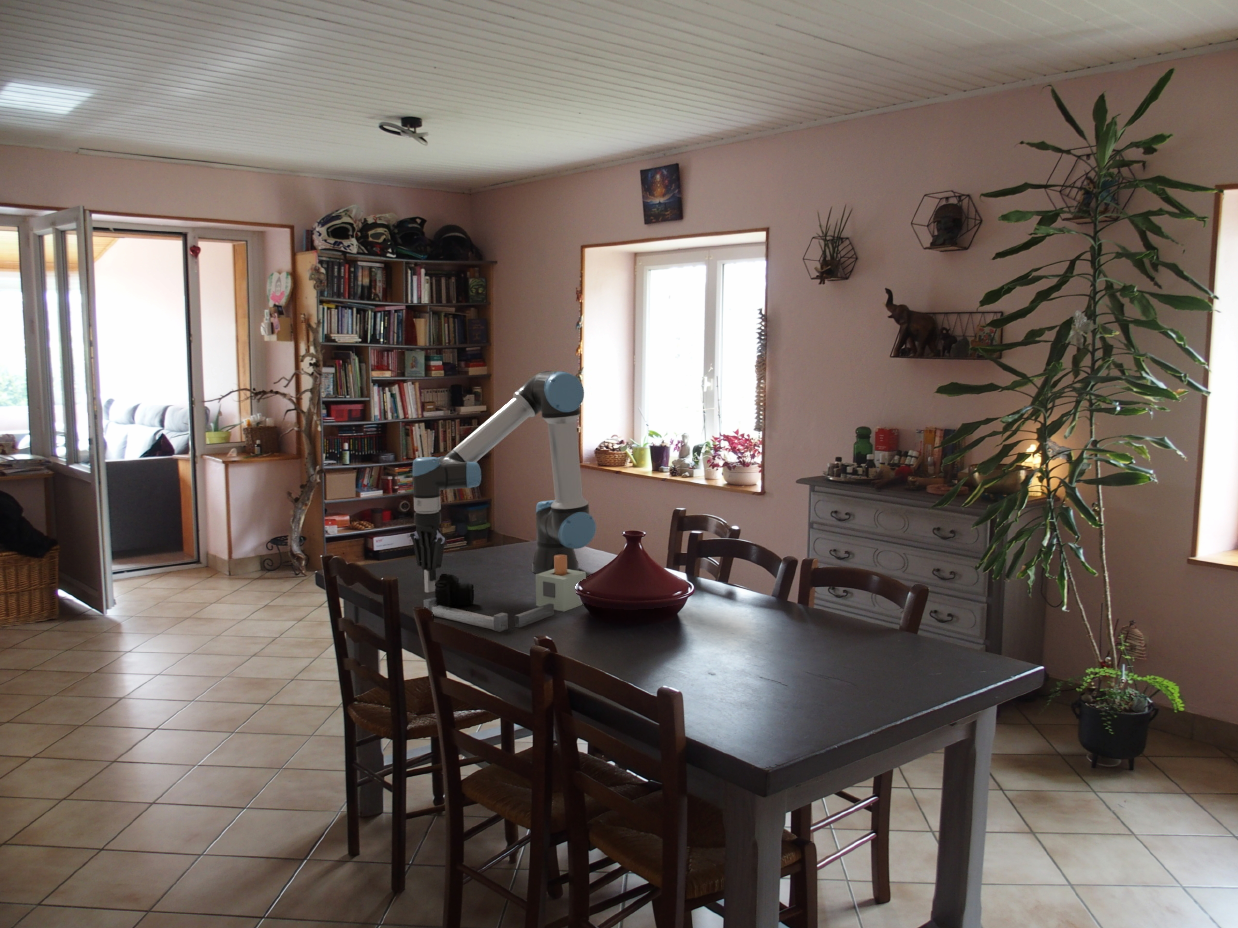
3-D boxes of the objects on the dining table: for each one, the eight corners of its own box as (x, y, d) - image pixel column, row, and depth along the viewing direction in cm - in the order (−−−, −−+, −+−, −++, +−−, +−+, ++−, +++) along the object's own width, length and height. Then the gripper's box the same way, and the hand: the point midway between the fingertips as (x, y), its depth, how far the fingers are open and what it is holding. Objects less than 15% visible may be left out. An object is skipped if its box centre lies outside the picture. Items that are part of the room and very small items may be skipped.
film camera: (467, 613, 259) (466, 581, 258) (432, 613, 259) (431, 581, 258) (477, 598, 274) (476, 568, 273) (443, 598, 274) (442, 568, 273)
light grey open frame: (474, 598, 274) (474, 584, 274) (553, 614, 257) (553, 600, 256) (423, 614, 258) (423, 599, 258) (504, 633, 241) (504, 617, 241)
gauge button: (559, 574, 268) (559, 553, 267) (569, 576, 266) (569, 555, 265) (551, 577, 265) (551, 556, 265) (561, 579, 263) (561, 557, 262)
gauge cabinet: (558, 597, 274) (558, 567, 273) (586, 603, 268) (585, 572, 267) (535, 606, 265) (534, 574, 264) (562, 611, 260) (562, 579, 258)
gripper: (401, 510, 272) (404, 590, 275) (433, 515, 265) (436, 597, 268) (421, 507, 278) (424, 585, 281) (452, 511, 271) (455, 591, 274)
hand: (430, 591), depth 275 cm, fingers closed
